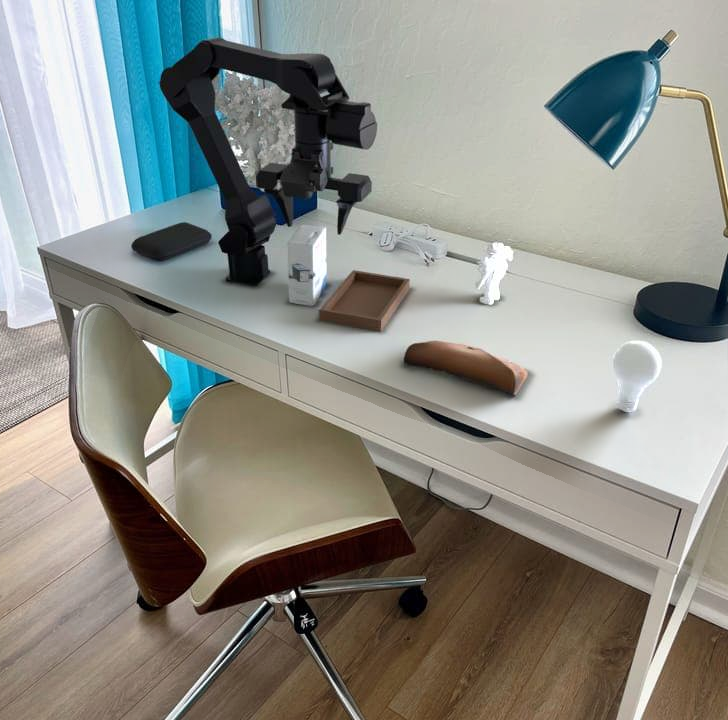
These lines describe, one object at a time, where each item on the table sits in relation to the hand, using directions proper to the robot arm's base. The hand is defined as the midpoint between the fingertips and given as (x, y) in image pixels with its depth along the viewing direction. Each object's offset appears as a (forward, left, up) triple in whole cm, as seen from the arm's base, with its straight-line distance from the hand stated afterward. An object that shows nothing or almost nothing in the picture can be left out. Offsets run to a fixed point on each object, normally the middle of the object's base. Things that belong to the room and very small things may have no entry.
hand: (314, 230), depth 127 cm
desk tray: (+10, 0, -13) cm, 16 cm away
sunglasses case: (+31, -15, -13) cm, 37 cm away
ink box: (-1, 0, -13) cm, 13 cm away
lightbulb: (+55, -18, -13) cm, 59 cm away
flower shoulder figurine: (+30, +9, -13) cm, 34 cm away
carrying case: (-36, +9, -13) cm, 39 cm away
